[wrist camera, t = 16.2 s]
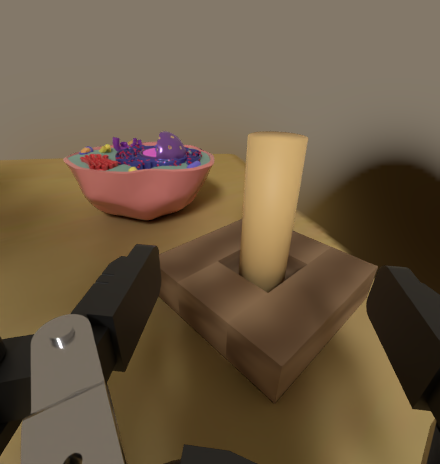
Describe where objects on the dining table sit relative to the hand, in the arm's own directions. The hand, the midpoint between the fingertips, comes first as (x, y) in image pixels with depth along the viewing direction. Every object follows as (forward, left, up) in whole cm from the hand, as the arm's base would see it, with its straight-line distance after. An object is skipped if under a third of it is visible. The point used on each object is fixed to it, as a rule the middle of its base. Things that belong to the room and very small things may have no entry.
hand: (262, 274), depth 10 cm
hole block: (-7, +9, -11) cm, 16 cm away
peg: (-7, +9, -11) cm, 16 cm away
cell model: (-30, +11, -11) cm, 34 cm away
